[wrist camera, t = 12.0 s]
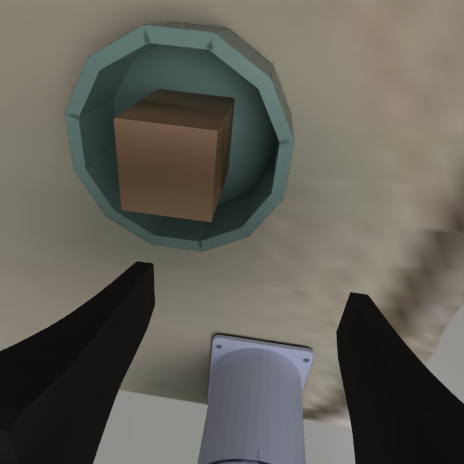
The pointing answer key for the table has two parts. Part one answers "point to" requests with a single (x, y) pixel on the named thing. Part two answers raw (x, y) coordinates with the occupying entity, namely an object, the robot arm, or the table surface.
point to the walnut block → (174, 153)
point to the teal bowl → (193, 81)
